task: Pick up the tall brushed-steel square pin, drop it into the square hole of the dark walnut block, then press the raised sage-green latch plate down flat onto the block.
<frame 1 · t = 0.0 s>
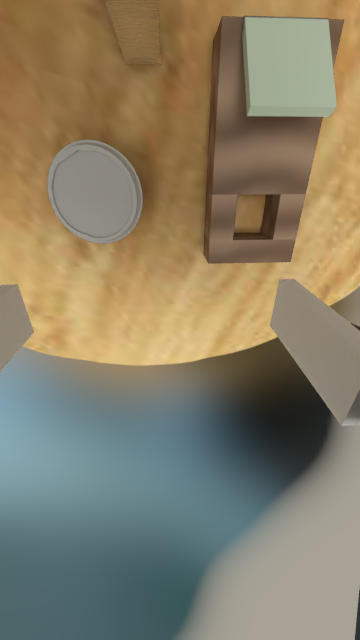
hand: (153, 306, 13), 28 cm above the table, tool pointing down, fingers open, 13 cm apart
steel pin: (141, 39, 28), on the table
walnut block: (250, 166, 34), on the table
latch plate: (287, 65, 23), point 8 cm above the table, hinge at 34.8°, touching walnut block
disposable coffee cup: (114, 191, 35), on the table
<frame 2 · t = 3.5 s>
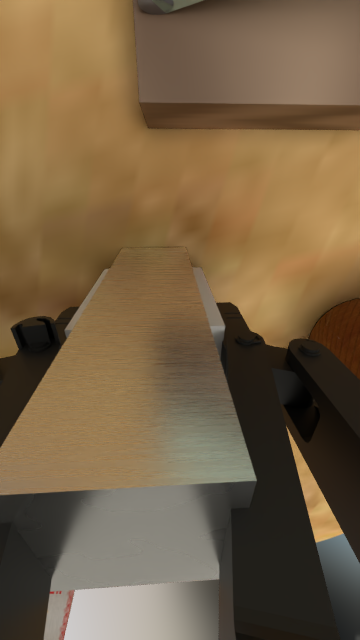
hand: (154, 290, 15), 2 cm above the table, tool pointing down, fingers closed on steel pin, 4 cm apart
steel pin: (155, 277, 17), on the table, touching gripper
tea bag: (62, 522, 33), on the table
disposable coffee cup: (346, 332, 20), on the table
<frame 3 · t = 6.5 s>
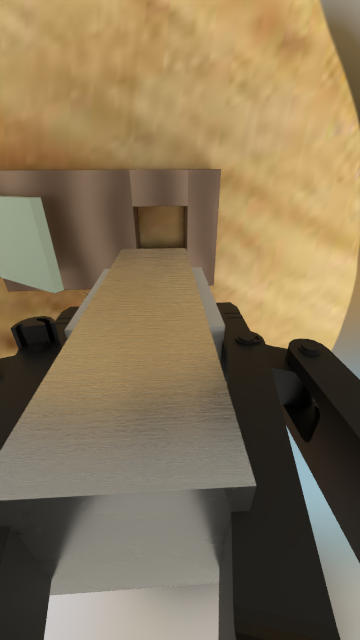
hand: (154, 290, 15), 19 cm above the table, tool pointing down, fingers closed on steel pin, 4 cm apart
steel pin: (155, 278, 17), point 17 cm above the table, touching gripper
walnut block: (113, 227, 31), on the table
latch plate: (16, 243, 24), point 8 cm above the table, hinge at 33.1°
when the fingers open (6 cm above the table, at t = 9.6 s): steel pin drops 4 cm, resting in walnut block.
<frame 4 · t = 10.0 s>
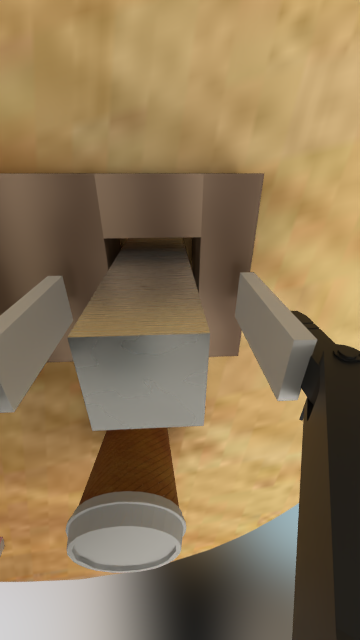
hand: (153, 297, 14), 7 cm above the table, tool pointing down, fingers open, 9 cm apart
steel pin: (156, 261, 20), resting in walnut block
walnut block: (81, 261, 20), on the table
disposable coffee cup: (139, 418, 30), on the table
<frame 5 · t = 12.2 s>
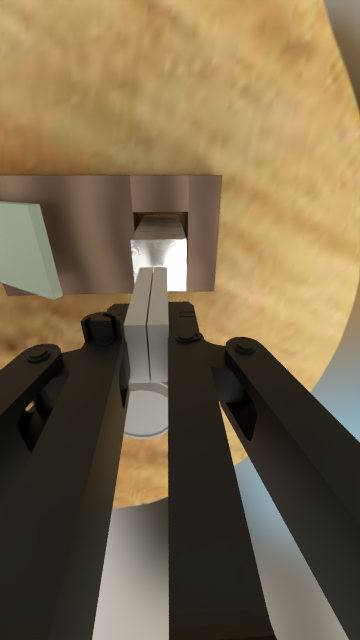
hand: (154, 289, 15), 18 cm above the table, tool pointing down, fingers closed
steel pin: (161, 232, 31), resting in walnut block
walnut block: (113, 232, 31), on the table
latch plate: (15, 248, 23), point 8 cm above the table, hinge at 33.1°
disposable coffee cup: (148, 353, 40), on the table
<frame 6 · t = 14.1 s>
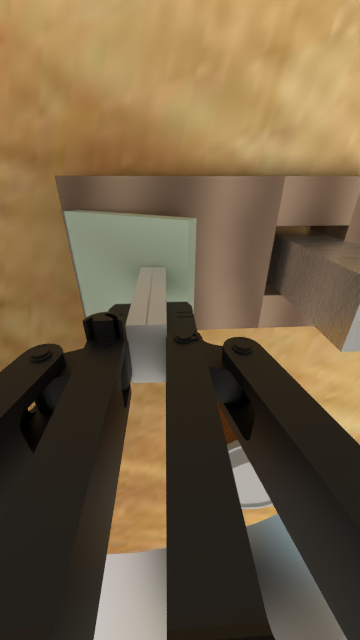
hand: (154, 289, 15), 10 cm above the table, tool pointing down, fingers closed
steel pin: (277, 248, 24), resting in walnut block
walnut block: (217, 248, 24), on the table
latch plate: (127, 277, 17), point 8 cm above the table, hinge at 31.0°, touching gripper
disposable coffee cup: (228, 389, 34), on the table
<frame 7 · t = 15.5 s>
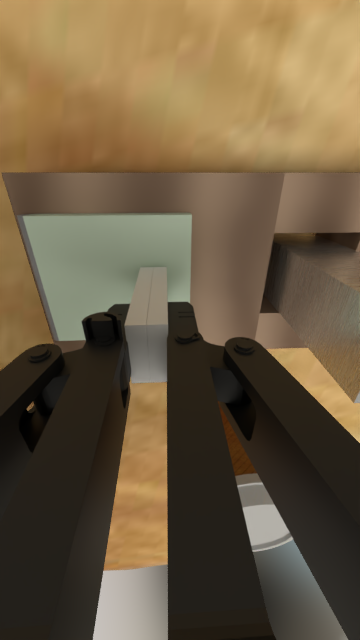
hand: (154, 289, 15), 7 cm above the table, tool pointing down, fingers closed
steel pin: (277, 256, 21), resting in walnut block
walnut block: (208, 256, 21), on the table
latch plate: (115, 282, 16), point 6 cm above the table, hinge at -0.4°
disposable coffee cup: (223, 409, 31), on the table
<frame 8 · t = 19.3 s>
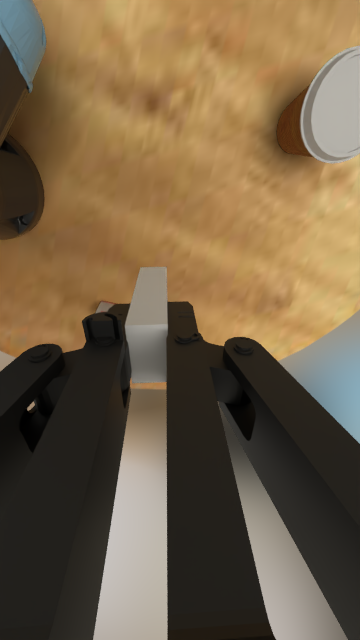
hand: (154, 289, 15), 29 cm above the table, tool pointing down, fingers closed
disposable coffee cup: (297, 128, 36), on the table
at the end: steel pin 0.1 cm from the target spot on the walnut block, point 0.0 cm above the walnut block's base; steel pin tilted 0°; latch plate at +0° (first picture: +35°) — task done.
